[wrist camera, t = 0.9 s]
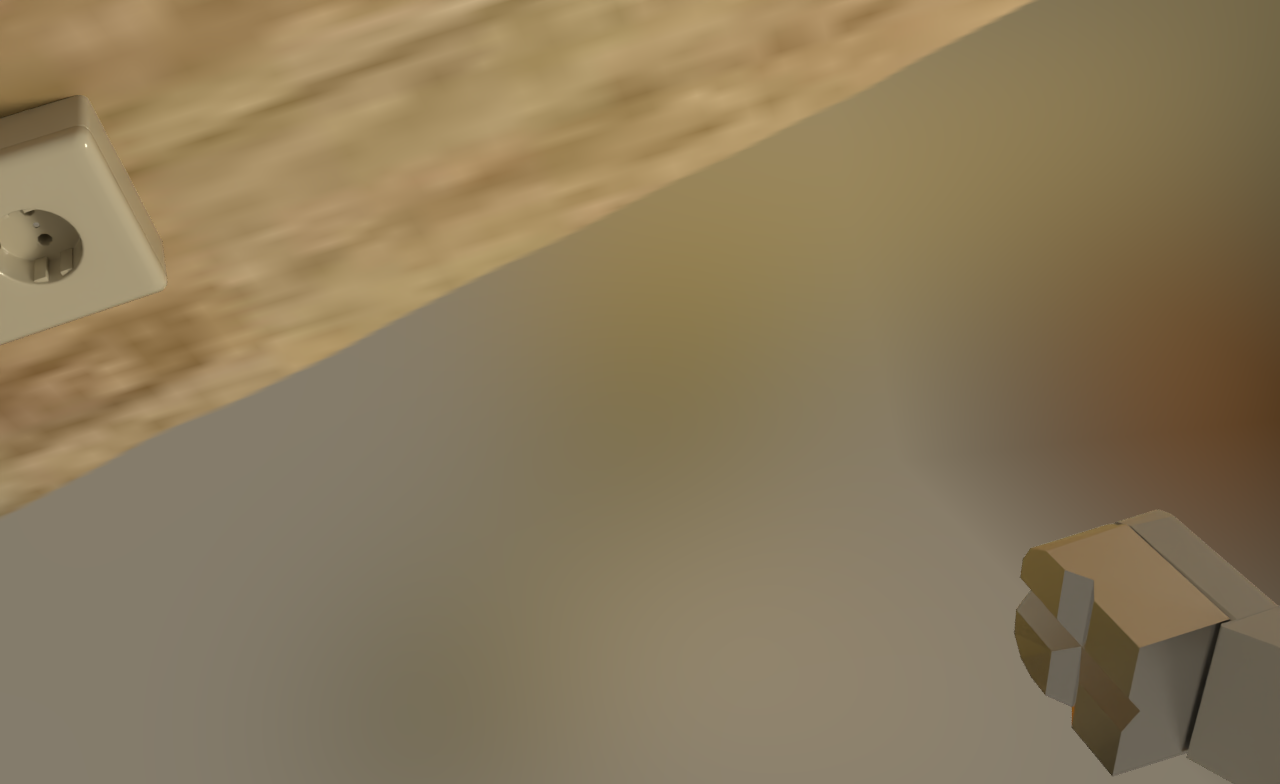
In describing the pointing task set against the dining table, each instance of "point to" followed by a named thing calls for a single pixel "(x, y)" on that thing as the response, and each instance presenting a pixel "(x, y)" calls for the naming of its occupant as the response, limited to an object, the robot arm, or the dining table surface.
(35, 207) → the electrical outlet
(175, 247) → the dining table surface
